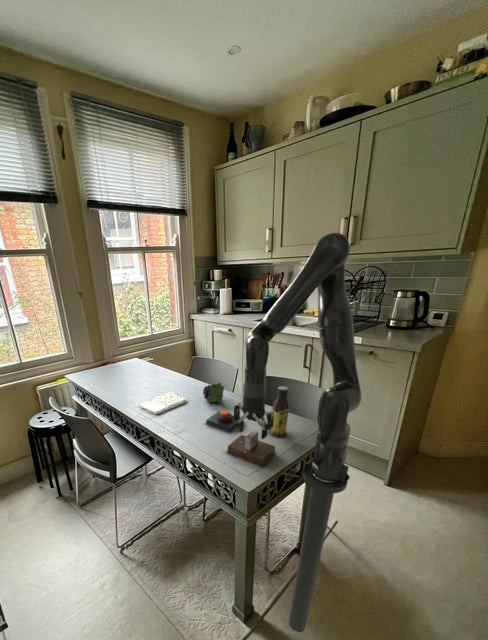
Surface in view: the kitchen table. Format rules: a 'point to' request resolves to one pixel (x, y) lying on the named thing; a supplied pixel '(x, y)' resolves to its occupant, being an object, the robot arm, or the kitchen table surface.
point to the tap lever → (251, 440)
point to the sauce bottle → (280, 412)
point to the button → (224, 414)
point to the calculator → (163, 403)
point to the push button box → (222, 422)
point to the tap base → (251, 451)
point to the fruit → (213, 392)
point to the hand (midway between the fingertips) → (252, 434)
